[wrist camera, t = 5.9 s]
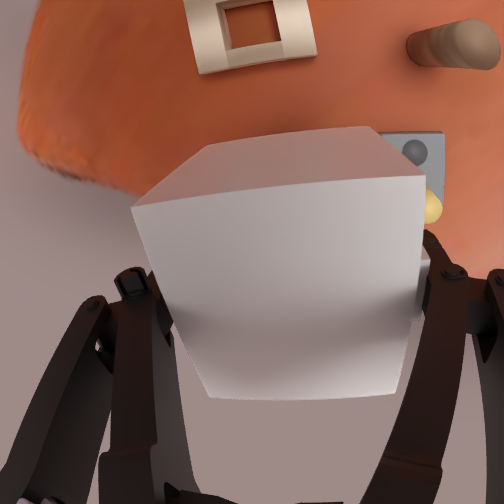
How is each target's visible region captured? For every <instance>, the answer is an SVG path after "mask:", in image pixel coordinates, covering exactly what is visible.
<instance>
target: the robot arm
mask: <svg viewBox="0 0 504 504" xmlns="http://www.w3.org/2000/svg"><path fill="white" fill-rule="evenodd" d="M114 282H115V285H116V287H117V289H118V291H119V293H120V295H121V297H122V300H121V301H118V302H114V303H110V304H108V303H107V301H106V299H105V297H104V296H102V295H100V296H99V295H97V296H92V297H90V298H88V299H87V300H86V301H84V302H83V303H82V305H81V306H80V307H79V309H78V311H77V312H76V314H75V316H74V318H73V320H72V321H71V323H70V325H69V327H68V328H67V330H66V332H65V334H64V336H63V338H62V339H61V341H60V343H59V345H58V347H57V349H56V351H55V353H54V355H53V357H52V358H51V360H50V362H49V364H48V366H47V368H46V370H45V372H44V374H43V377H42V379H41V381H40V383H39V385H38V387H37V389H36V392H35V394H34V396H33V398H32V400H31V403H30V404H29V407H28V409H27V411H26V414H25V416H24V418H23V421H22V423H21V426H20V428H19V431H18V433H17V435H16V438H15V441H14V443H13V446H12V449H11V451H10V454H9V457H8V459H7V462H6V464H5V465H4V467H3V468H2V470H1V471H0V504H86V503H87V498H88V495H89V492H90V487H91V483H92V478H93V474H94V470H95V466H96V462H97V458H98V454H99V450H100V446H101V443H102V439H103V435H104V432H105V428H106V424H107V421H108V418H109V414H110V411H111V433H110V449H109V451H108V452H103V453H102V454H101V455H100V457H99V463H98V482H99V483H98V484H99V504H237V503H234V502H232V501H229V500H226V499H224V498H221V497H219V496H214V495H208V494H202V493H201V492H200V490H199V488H198V486H197V484H196V482H195V479H194V476H193V471H192V466H191V461H190V455H189V450H188V443H187V437H186V431H185V425H184V418H183V412H182V405H181V398H180V390H179V382H178V374H177V365H176V357H175V347H174V337H173V334H172V332H171V330H170V328H171V326H172V324H173V322H174V321H173V319H172V317H171V314H170V312H169V310H168V307H167V305H166V302H165V300H164V298H163V295H162V293H161V290H160V288H159V285H158V283H157V280H156V278H155V275H154V273H153V270H152V271H151V272H150V274H149V275H148V277H147V275H146V273H145V270H144V269H143V268H141V267H133V268H129V269H126V270H124V271H123V272H121V273H120V274H119V275H117V276H116V278H115V280H114ZM422 309H423V312H424V315H425V321H424V326H423V330H422V334H421V338H420V342H419V346H418V350H417V354H416V358H415V362H414V365H413V369H412V372H411V376H410V379H409V382H408V386H407V389H406V392H405V395H404V398H403V401H402V404H401V407H400V410H399V413H398V416H397V419H396V421H395V424H394V427H393V430H392V432H391V435H390V437H389V440H388V442H387V445H386V447H385V450H384V452H383V454H382V457H381V459H380V462H379V464H378V466H377V468H376V470H375V473H374V475H373V477H372V479H371V482H370V483H369V485H368V487H367V490H366V492H365V494H364V496H363V498H362V499H361V501H360V503H359V504H433V502H434V500H435V497H436V494H437V491H438V488H439V485H440V482H441V478H442V472H443V470H442V468H441V462H442V458H443V455H444V451H445V448H446V444H447V440H448V436H449V432H450V428H451V424H452V419H453V415H454V410H455V405H456V400H457V394H458V389H459V384H460V377H461V371H462V363H463V355H464V347H465V337H466V333H468V334H471V335H472V340H473V344H474V350H475V355H476V360H477V366H478V371H479V377H480V384H481V392H482V401H483V410H484V420H485V434H486V456H487V486H486V504H504V269H493V270H492V271H490V272H489V274H488V277H487V280H484V279H476V278H471V277H468V273H467V271H466V270H465V269H464V268H463V267H461V266H459V265H457V264H453V263H452V262H451V260H450V259H449V257H448V255H447V254H446V252H445V250H444V249H443V248H442V246H441V244H440V243H439V241H438V239H437V238H436V236H435V235H434V234H433V233H431V232H430V231H428V230H427V229H426V230H423V242H422V253H421V262H420V270H419V278H418V286H417V293H416V299H415V305H414V311H413V317H412V321H420V318H421V314H422ZM96 341H97V343H98V344H99V346H100V347H99V350H98V351H97V350H96V349H95V345H96ZM297 504H343V502H327V503H326V502H324V503H297Z"/></svg>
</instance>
